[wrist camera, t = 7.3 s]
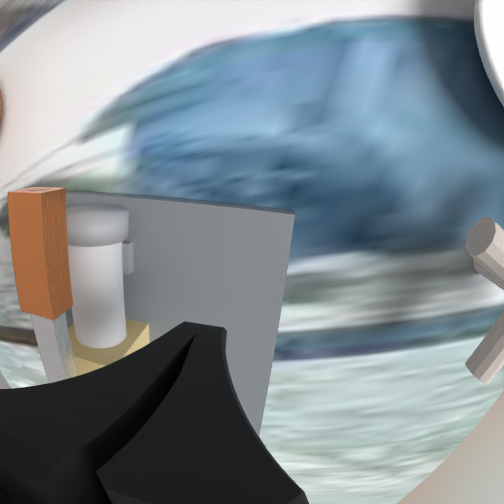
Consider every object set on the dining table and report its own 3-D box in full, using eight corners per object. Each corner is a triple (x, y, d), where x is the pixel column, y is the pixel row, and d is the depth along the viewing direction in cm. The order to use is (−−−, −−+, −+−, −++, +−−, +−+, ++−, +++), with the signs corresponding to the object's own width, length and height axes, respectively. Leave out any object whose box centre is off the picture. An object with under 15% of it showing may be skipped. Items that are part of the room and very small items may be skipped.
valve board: (254, 452, 21) (246, 519, 15) (87, 413, 21) (53, 464, 15) (293, 210, 16) (302, 242, 10) (55, 190, 16) (-20, 207, 10)
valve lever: (104, 424, 13) (90, 447, 11) (66, 410, 13) (50, 430, 11) (72, 188, 10) (42, 194, 8) (27, 187, 10) (-3, 193, 8)
